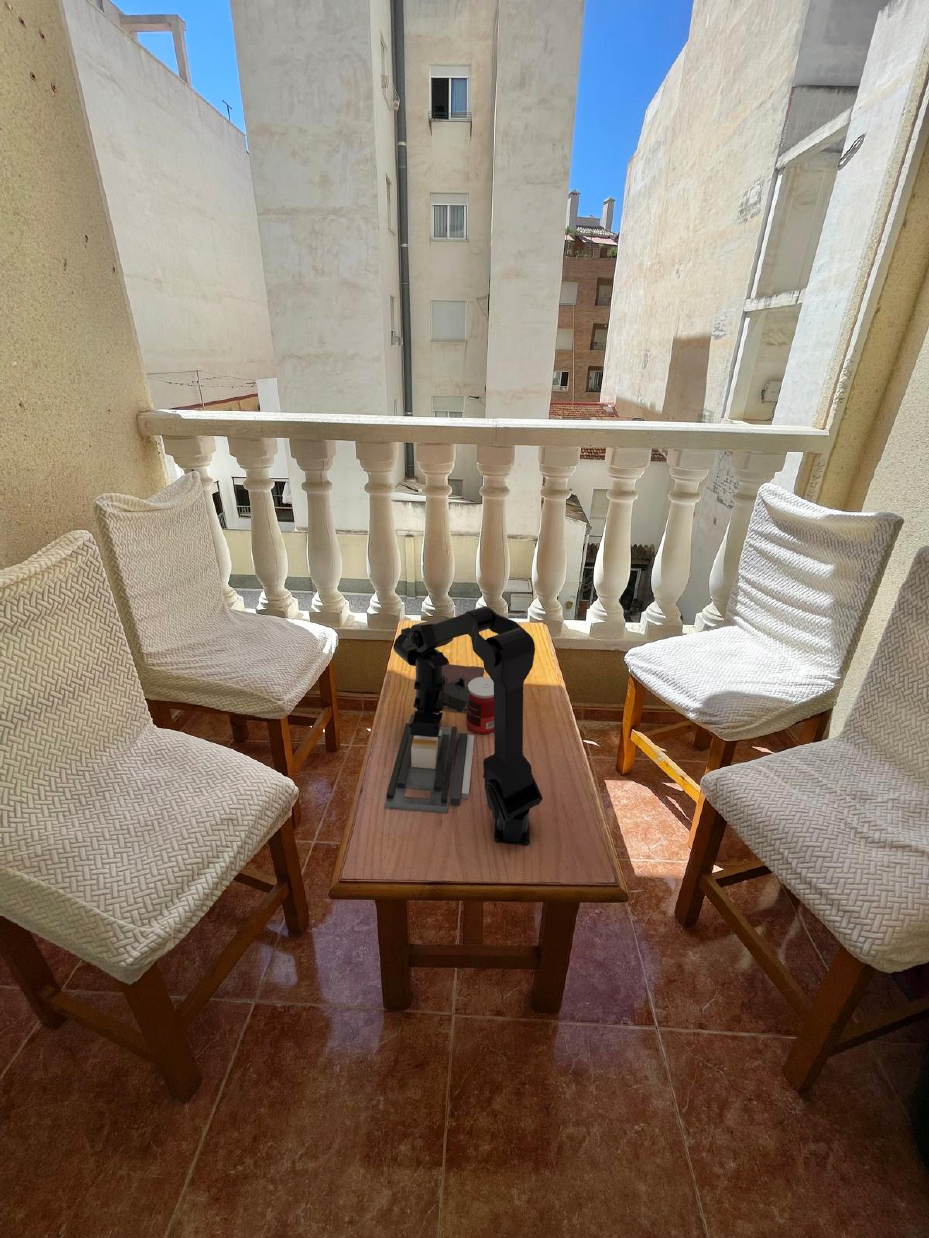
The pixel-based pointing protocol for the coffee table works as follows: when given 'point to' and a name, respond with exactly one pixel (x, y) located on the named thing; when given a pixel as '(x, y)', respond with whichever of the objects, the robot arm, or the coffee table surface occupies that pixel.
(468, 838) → the coffee table surface
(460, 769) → the long gray rectangular block
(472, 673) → the notebook
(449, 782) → the panel
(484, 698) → the canned food
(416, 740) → the toggle
